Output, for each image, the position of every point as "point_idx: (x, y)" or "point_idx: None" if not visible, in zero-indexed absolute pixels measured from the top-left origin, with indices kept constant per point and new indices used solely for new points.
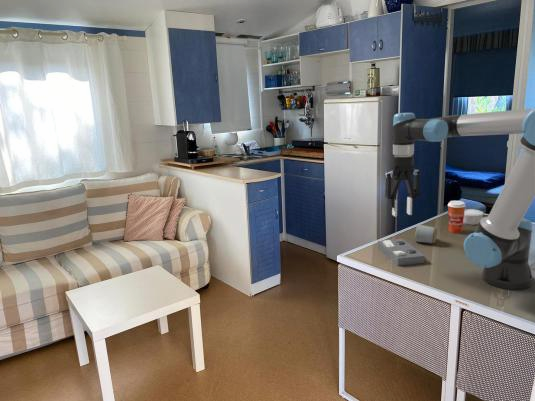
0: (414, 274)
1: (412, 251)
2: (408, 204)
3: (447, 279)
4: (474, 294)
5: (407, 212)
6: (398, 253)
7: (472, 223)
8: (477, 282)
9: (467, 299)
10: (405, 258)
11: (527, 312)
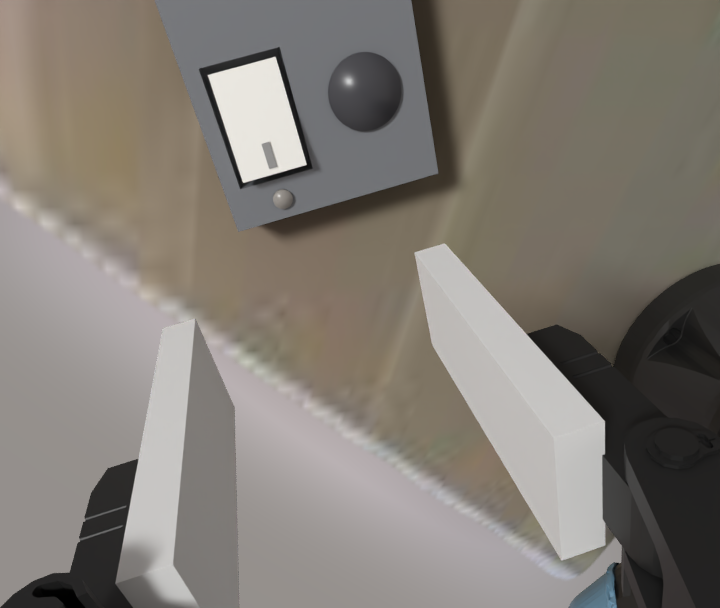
0: (320, 325)
1: (372, 97)
2: (485, 391)
3: None
4: None
5: (424, 282)
6: (250, 180)
7: None
8: None
9: (470, 506)
10: (295, 213)
11: None
